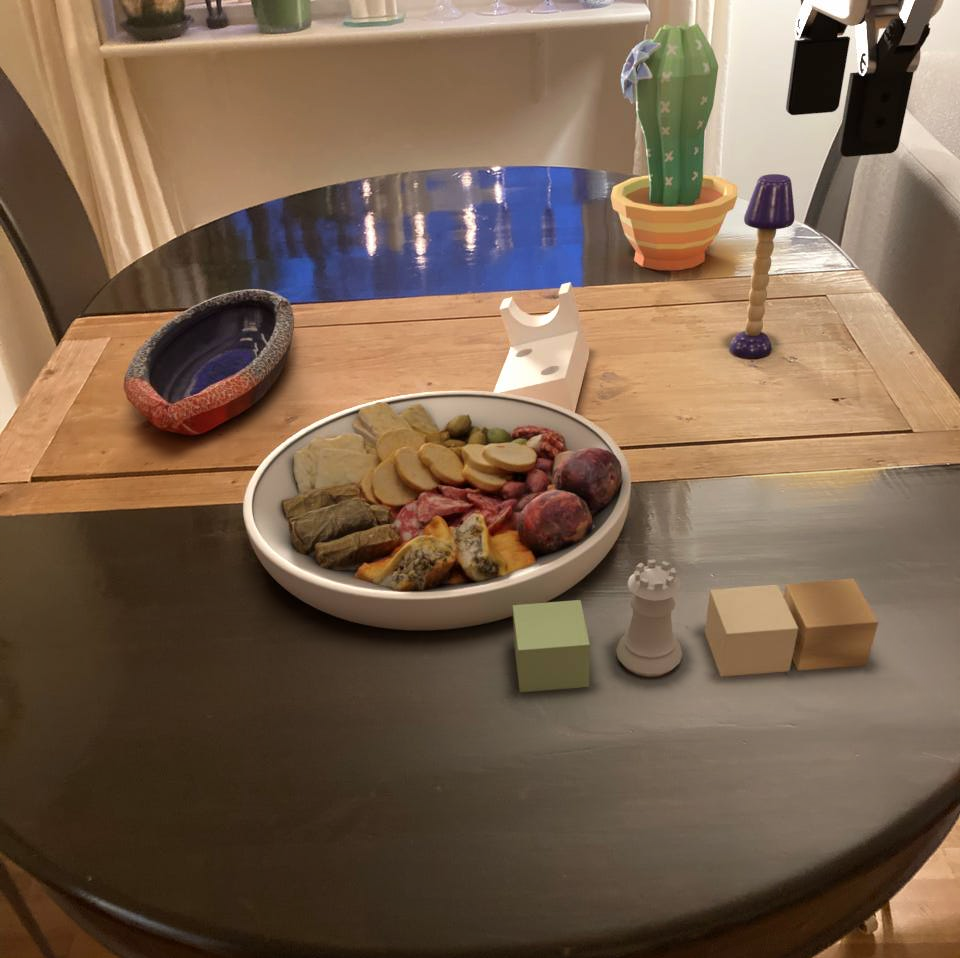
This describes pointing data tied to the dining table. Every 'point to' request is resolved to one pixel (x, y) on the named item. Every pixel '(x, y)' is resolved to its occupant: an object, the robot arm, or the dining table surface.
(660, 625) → the rook chess piece
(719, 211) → the potted cactus
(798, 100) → the robot arm
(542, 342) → the bracket
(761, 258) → the toy lamp
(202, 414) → the dish
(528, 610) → the sage block
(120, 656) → the dining table surface
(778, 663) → the cream block
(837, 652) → the birch block
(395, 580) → the bowl
